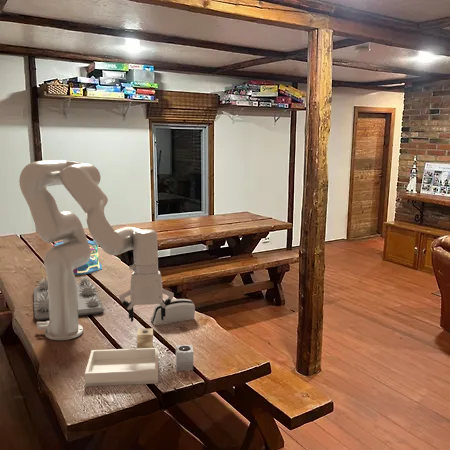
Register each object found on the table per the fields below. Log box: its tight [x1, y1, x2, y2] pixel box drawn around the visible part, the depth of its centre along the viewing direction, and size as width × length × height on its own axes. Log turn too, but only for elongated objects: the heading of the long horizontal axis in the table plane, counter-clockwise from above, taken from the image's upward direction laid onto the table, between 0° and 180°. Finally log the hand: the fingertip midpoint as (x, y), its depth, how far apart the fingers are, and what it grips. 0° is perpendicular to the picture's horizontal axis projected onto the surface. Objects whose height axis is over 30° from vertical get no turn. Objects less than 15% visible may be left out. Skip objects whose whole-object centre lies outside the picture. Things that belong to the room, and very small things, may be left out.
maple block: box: [136, 327, 154, 349], centre depth 149 cm, size 5×5×6 cm
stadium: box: [52, 237, 103, 276], centre depth 239 cm, size 35×24×14 cm
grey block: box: [175, 344, 194, 372], centre depth 138 cm, size 5×5×6 cm
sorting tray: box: [84, 347, 159, 388], centre depth 134 cm, size 20×14×4 cm
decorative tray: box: [31, 275, 105, 321], centre depth 186 cm, size 35×26×10 cm
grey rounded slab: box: [150, 298, 196, 326], centre depth 172 cm, size 17×5×10 cm, turn 119°
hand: (147, 319), depth 147 cm, fingers open, 9 cm apart
